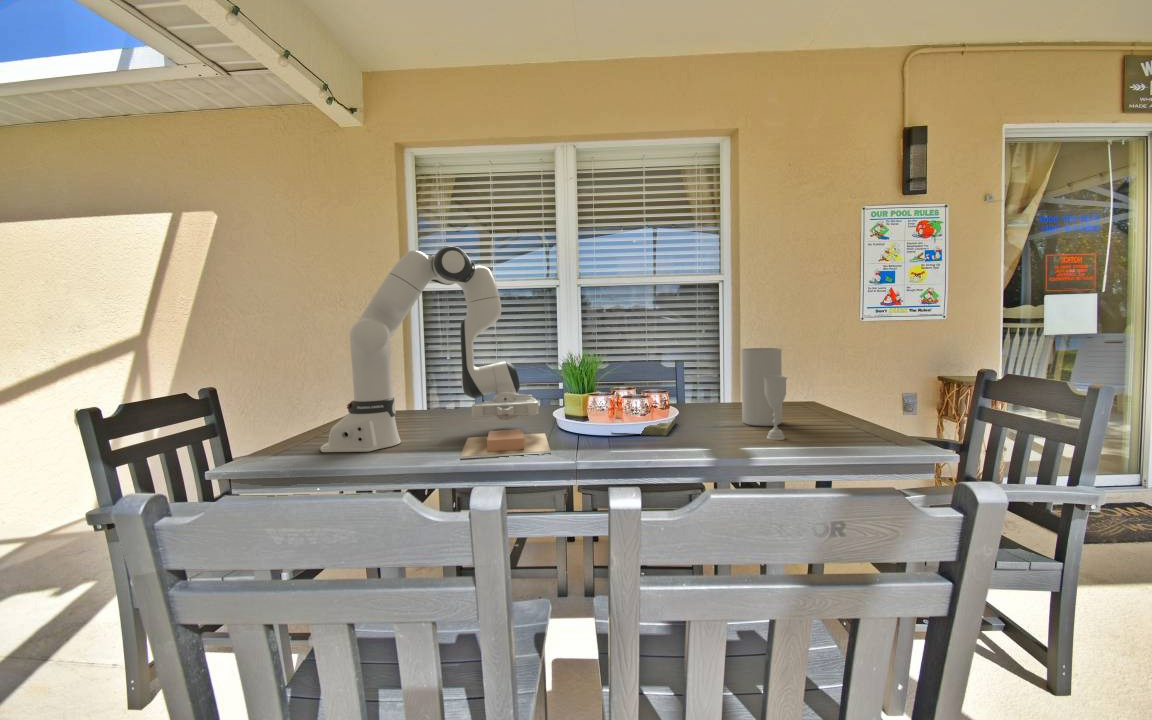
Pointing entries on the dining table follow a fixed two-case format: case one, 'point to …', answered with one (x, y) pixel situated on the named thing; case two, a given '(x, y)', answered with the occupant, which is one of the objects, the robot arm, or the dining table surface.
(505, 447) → the terracotta tile
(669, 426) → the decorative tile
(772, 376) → the chalice
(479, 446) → the oak board
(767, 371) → the cylinder vase
